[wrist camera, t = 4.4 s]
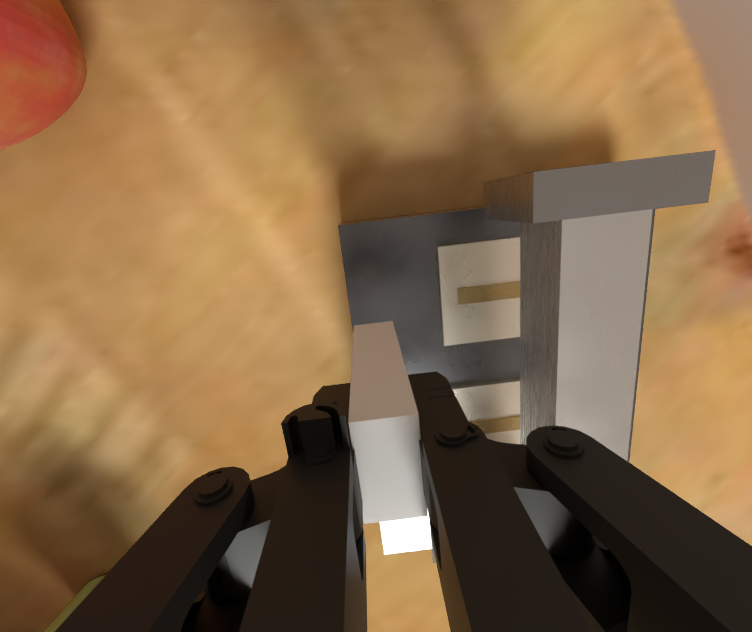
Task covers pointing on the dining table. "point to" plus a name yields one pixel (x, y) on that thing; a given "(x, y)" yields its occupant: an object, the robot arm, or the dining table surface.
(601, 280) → the grey bar
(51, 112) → the apple
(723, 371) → the dining table surface
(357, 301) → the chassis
